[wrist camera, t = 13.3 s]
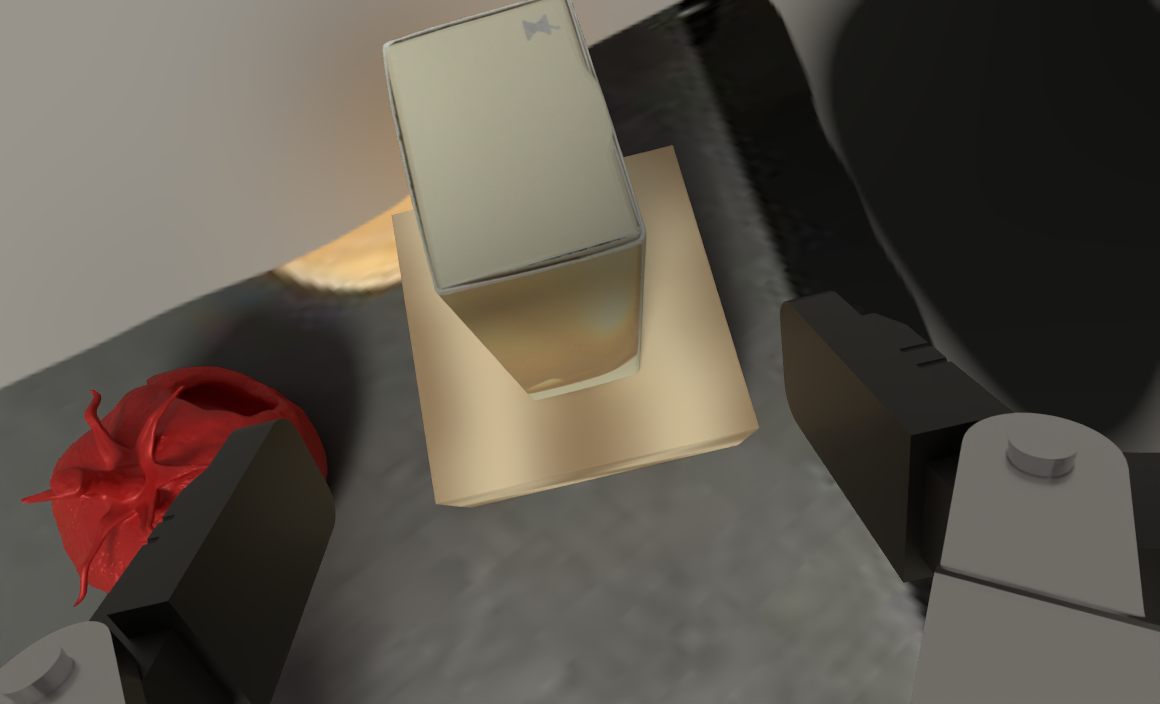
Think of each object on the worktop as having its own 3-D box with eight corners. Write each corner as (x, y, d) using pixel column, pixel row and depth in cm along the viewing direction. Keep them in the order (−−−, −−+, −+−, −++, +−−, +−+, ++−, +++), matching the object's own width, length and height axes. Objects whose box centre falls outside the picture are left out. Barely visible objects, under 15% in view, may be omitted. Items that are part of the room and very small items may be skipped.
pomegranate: (363, 584, 27) (234, 621, 18) (143, 621, 28) (-89, 675, 19) (347, 367, 30) (227, 306, 21) (146, 403, 30) (-58, 358, 21)
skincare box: (496, 259, 25) (370, 27, 13) (601, 229, 25) (566, -30, 13) (533, 412, 23) (425, 299, 12) (645, 381, 23) (652, 235, 12)
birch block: (667, 204, 31) (672, 145, 26) (738, 444, 27) (759, 428, 22) (430, 263, 31) (391, 215, 26) (471, 507, 28) (436, 503, 23)
